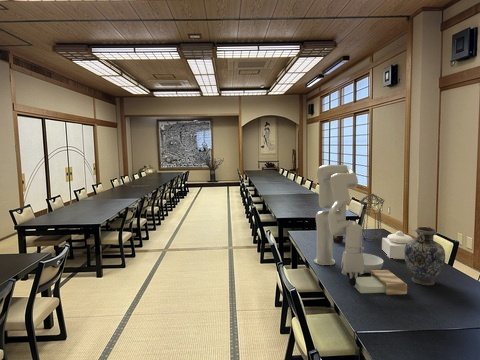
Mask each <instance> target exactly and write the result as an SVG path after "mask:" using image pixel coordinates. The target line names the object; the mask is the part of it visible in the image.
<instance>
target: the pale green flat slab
mask: <svg viewBox="0 0 480 360" xmlns="http://www.w3.org/2000/svg"><path fill="white" fill-rule="evenodd" d="M353 287H354V288H355V289H356V290H357V291H358V292H359V293H360V294H377V293H381V294H382V293H386V284H385V283H384V282H382V281H381V280H380V279H379V278H378V277H371V276H358V277H357V278H356V284H355V286H353Z"/></svg>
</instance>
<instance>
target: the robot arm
mask: <svg viewBox="0 0 480 360" xmlns="http://www.w3.org/2000/svg"><path fill="white" fill-rule="evenodd" d="M316 179H317V181H318V206H319V208H321V209H325V210H320V211H317V213H316V214H315V223H316V224H315V225H316V257H315V258H314V259H313V262H314V263H315V264H317V265H318V266H319V265H320V266H324V265H330V266H333V265H335V264H336V260H335V259H334V257H333V256H334V242H333V235H334V236H343V237H346V238H345V249H344V250H343V252H342V257H341V263H340V264H341V265H340V266H341V268H340V269H341V270H342V271H341V274H342V275H345V276H348V284H349V285H350V286H351V287H354V286H355V284H356V278H357V277H360V275H363V274H365V273H364V258H363V253H364V252H363V250H365V246H362V245H363V243H362V241H363V239H362V238H363V237H362V226H361V224H359V223H357V221H355V220H347V219H346V218H347V205H348V204H349V203H351V197H350V192H349V189H355V188H357V186H358V184H359V179H358V176H357V175H356V173H355V172H354V170H352V168H350V167H349V165H346V164H325V165H320V166H319V167H318V168H317V170H316ZM327 209H329V210H327Z"/></svg>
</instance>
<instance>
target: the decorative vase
mask: <svg viewBox="0 0 480 360" xmlns="http://www.w3.org/2000/svg"><path fill="white" fill-rule="evenodd" d="M415 233H417V238H413V240H411V241H409V242H408V243H407V244H406V246H405V250H404V256H405V259H404V260H405V265H406V269H407V271H408V272H409V273H410V274H411V275H412V277H411V281H412V283H415V284H417V285H422V286H429V287H430V286H433V285H435V280H434V279H435V278H436V277H437V276H439V275H440V273H441V272H442V270H443V268H444V265H445V262H446V250H445V248H444V247H443V245H442V244H440V243H439V242H437V241H435V240H434V239H435V238H434V236H435V235H438V233H437V231H436V230H435V229H434V228H432V227H430V226H427V227H425V226H422V227H421V226H420V227H419V226H418V228H417V229H415Z"/></svg>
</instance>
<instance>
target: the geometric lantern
mask: <svg viewBox="0 0 480 360" xmlns="http://www.w3.org/2000/svg"><path fill="white" fill-rule="evenodd" d="M365 200H366V202H365ZM374 201H376V202H375V203H374ZM358 202H359V203H360V205H361V206H360V207H363V205H364V207H365V208H364V209H363V208H361V220H360V221H361V222H360V226H361V227H362V238H363V239H364V238H365V237H368V238H367V240H368V242H370V240H373V241H375V242H377V240H376V239H377V238H379V237H380V236H381V235H382V215H381V214H382V213H381V210H382V207H383V205H384V203H385V199H384V198H381V197H380V196H377V194H374V193H369V194H367V195H366V196H365V197H362V199H361V200H359V201H358ZM368 202H370V203H368ZM368 205H369V206H368ZM379 205H380V207H379ZM376 206H377V208H378V209H376V211H378V212H375V209H374V208H373V207H376ZM370 208H371V209H370ZM369 211H372V214H373V215H374V231H373V230H368V223H366V221H368V219H369ZM365 215H366V216H365ZM376 215H377V216H376ZM376 220H379V223H377V221H376ZM365 223H366V224H365ZM376 224H377V227H376ZM365 225H366V226H365ZM376 230H377V231H376ZM366 232H371V233H374V234H373V235H371V234H367V233H366ZM373 238H374V239H373ZM365 239H366V238H365ZM369 239H370V240H369Z"/></svg>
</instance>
